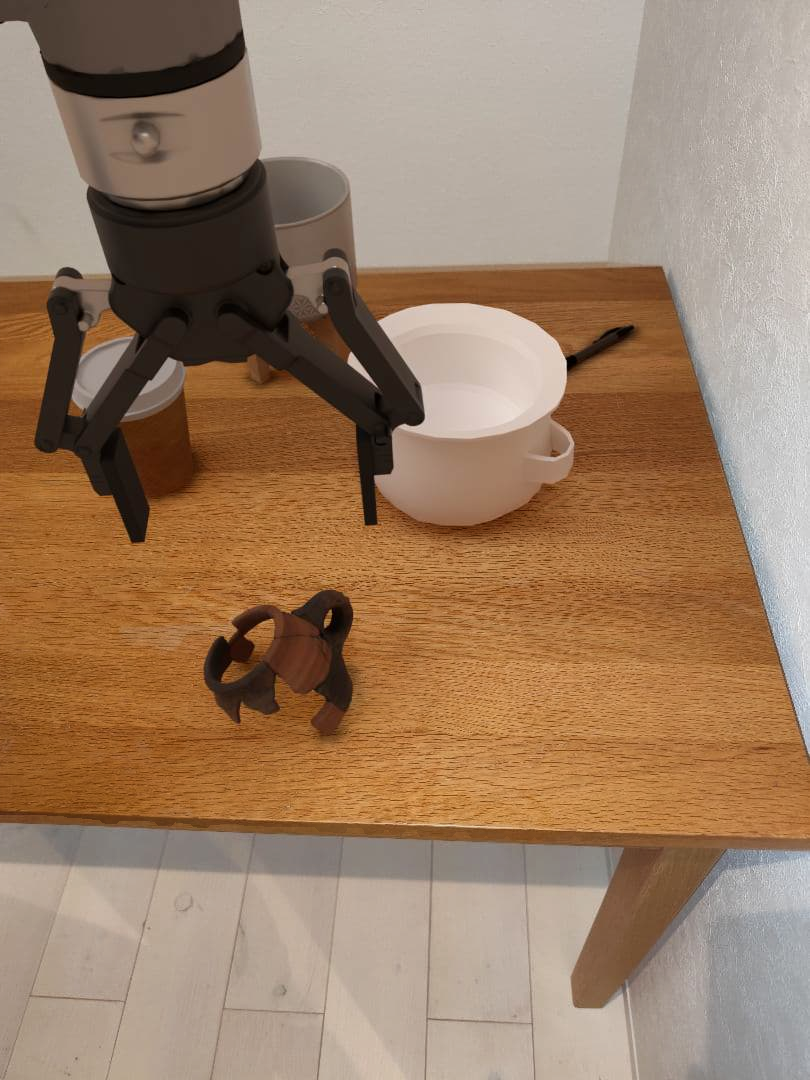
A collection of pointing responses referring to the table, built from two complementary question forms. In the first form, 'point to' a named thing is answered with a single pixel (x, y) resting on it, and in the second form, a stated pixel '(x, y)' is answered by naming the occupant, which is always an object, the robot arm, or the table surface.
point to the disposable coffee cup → (145, 417)
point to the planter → (309, 234)
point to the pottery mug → (288, 659)
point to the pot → (475, 413)
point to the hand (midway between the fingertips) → (256, 517)
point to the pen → (599, 344)
